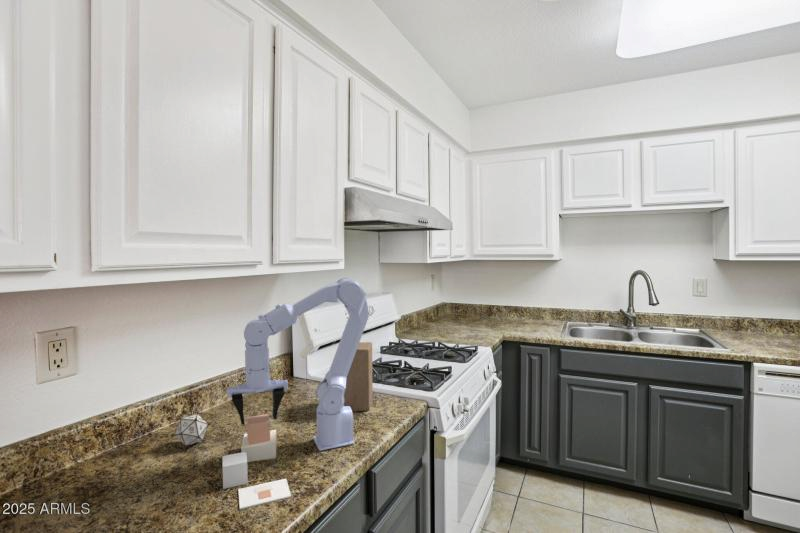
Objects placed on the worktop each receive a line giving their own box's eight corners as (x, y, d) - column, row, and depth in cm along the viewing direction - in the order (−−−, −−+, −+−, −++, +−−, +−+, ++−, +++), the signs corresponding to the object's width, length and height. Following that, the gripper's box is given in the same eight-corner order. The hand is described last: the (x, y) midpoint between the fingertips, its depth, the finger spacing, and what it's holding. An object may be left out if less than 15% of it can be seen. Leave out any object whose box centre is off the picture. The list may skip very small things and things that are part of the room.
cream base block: (276, 444, 109) (276, 429, 109) (275, 459, 101) (275, 443, 101) (244, 448, 107) (244, 433, 106) (241, 464, 99) (241, 447, 99)
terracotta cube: (267, 432, 107) (267, 413, 107) (270, 440, 102) (269, 421, 102) (247, 436, 105) (247, 417, 105) (249, 444, 100) (248, 424, 100)
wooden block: (343, 399, 140) (343, 341, 139) (372, 399, 140) (372, 342, 139) (338, 411, 130) (337, 349, 129) (369, 411, 130) (368, 349, 129)
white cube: (246, 472, 95) (246, 451, 94) (247, 484, 90) (247, 461, 90) (223, 477, 93) (222, 456, 92) (223, 489, 88) (222, 466, 88)
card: (286, 479, 91) (286, 477, 91) (291, 497, 85) (291, 495, 85) (238, 490, 87) (238, 488, 87) (239, 509, 81) (239, 507, 81)
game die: (194, 454, 110) (207, 416, 116) (207, 452, 105) (221, 412, 111) (160, 447, 105) (176, 407, 111) (173, 445, 100) (188, 403, 106)
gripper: (226, 375, 96) (228, 432, 97) (289, 368, 102) (290, 421, 103) (226, 367, 103) (227, 420, 103) (285, 361, 109) (286, 411, 109)
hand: (258, 420), depth 103 cm, fingers open, 7 cm apart
